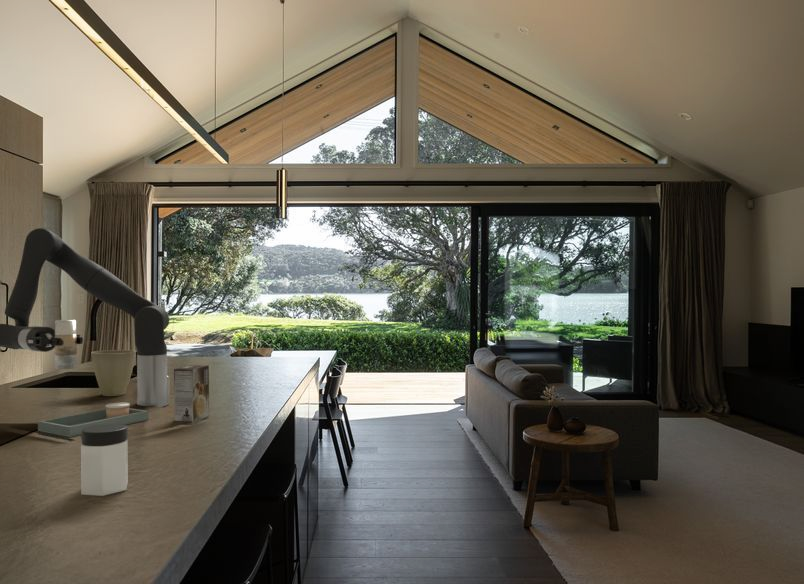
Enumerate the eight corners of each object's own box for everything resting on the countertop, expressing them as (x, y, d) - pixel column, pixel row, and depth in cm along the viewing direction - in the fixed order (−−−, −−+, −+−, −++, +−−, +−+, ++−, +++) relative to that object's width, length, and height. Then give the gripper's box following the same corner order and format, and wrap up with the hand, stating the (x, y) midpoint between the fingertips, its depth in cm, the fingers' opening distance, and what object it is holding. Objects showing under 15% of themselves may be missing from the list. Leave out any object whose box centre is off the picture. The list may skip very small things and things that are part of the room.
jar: (118, 479, 127) (117, 421, 127) (137, 487, 122) (137, 426, 122) (72, 490, 121) (71, 428, 121) (90, 499, 115) (90, 435, 115)
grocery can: (69, 366, 186) (69, 319, 186) (81, 367, 184) (80, 320, 183) (50, 368, 181) (50, 320, 181) (62, 369, 179) (62, 321, 178)
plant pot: (124, 398, 222) (124, 353, 221) (83, 398, 222) (83, 353, 222) (142, 391, 236) (142, 349, 236) (103, 391, 237) (103, 349, 237)
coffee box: (190, 417, 189) (190, 364, 188) (209, 418, 187) (209, 365, 187) (173, 424, 180) (173, 368, 179) (193, 425, 178) (193, 369, 178)
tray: (117, 418, 188) (117, 406, 188) (148, 423, 181) (148, 411, 181) (38, 434, 167) (37, 421, 167) (69, 440, 160) (69, 427, 160)
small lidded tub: (120, 417, 184) (120, 401, 184) (134, 419, 181) (134, 403, 181) (100, 421, 179) (100, 405, 179) (115, 423, 176) (114, 407, 176)
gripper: (13, 327, 183) (46, 329, 175) (60, 325, 196) (94, 326, 187) (13, 353, 183) (46, 356, 175) (61, 349, 196) (94, 351, 187)
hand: (71, 341), depth 181 cm, fingers closed on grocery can, 5 cm apart
